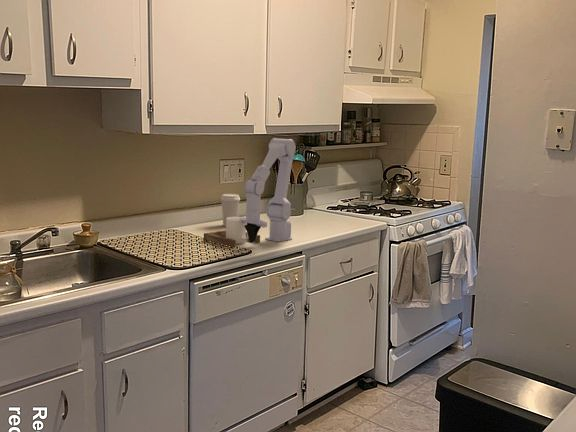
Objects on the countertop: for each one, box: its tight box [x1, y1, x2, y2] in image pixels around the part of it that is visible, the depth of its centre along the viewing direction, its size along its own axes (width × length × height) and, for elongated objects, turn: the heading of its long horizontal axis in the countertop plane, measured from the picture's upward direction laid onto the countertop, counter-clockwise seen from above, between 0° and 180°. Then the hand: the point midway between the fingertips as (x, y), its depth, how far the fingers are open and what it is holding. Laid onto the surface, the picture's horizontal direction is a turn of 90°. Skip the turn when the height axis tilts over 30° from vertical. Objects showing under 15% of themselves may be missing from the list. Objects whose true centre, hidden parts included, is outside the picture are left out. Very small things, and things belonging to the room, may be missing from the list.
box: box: [203, 229, 261, 248], centre depth 249 cm, size 16×18×3 cm
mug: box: [225, 216, 249, 245], centre depth 246 cm, size 12×8×10 cm
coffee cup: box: [220, 193, 241, 227], centre depth 282 cm, size 10×10×15 cm
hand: (252, 241), depth 241 cm, fingers closed
